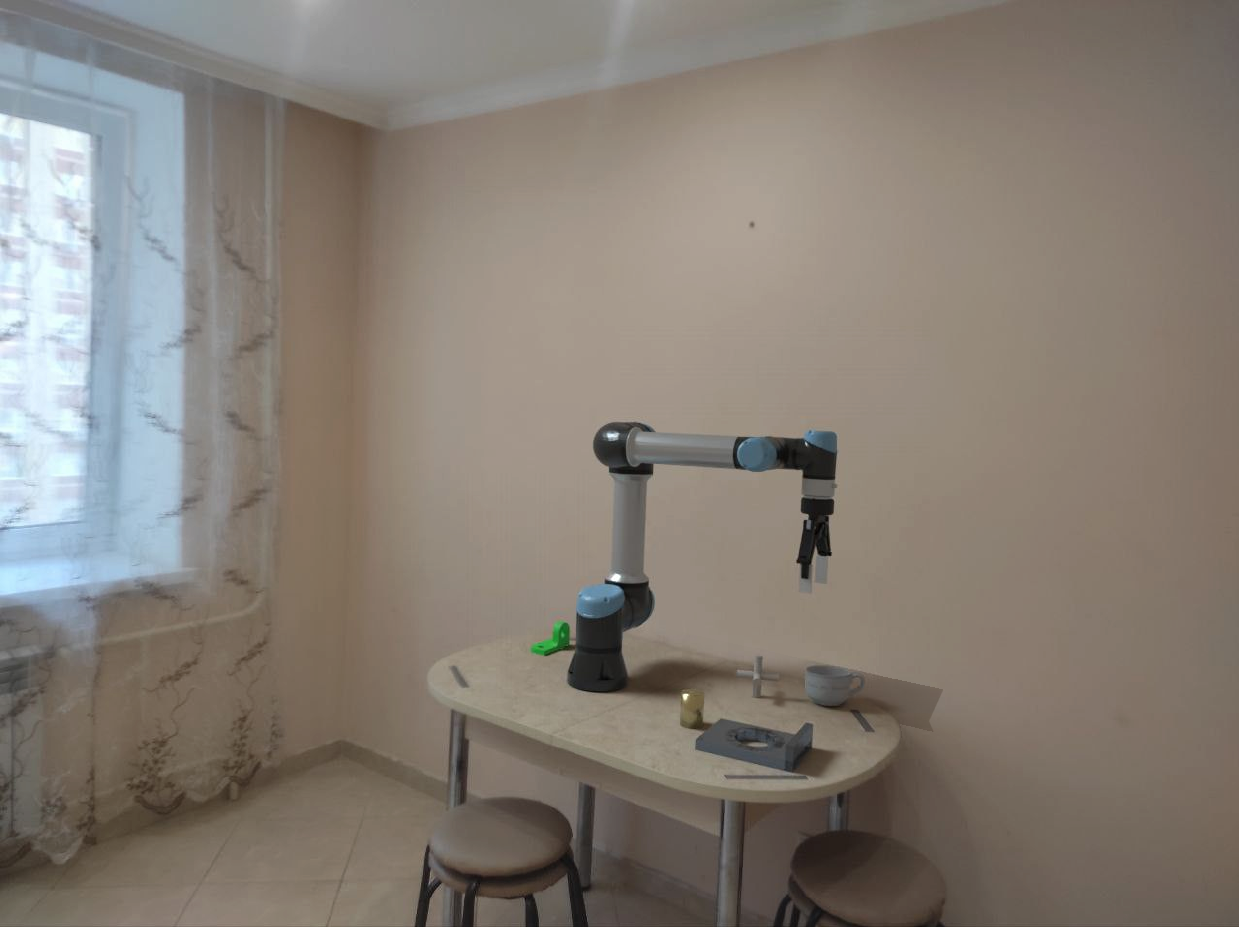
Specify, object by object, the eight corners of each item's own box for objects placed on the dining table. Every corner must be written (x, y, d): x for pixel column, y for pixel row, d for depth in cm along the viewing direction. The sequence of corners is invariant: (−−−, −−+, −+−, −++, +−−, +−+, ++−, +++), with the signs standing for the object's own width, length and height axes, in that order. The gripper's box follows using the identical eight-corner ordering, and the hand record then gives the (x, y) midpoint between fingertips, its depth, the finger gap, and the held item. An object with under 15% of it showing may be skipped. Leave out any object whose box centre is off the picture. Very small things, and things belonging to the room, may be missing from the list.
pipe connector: (777, 705, 195) (779, 663, 194) (734, 700, 197) (736, 659, 196) (778, 691, 205) (780, 651, 204) (737, 687, 207) (739, 648, 206)
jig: (695, 748, 167) (696, 724, 167) (720, 727, 180) (721, 704, 179) (792, 772, 158) (793, 746, 158) (812, 747, 170) (813, 723, 170)
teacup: (800, 705, 195) (802, 672, 195) (806, 692, 205) (808, 660, 205) (861, 715, 190) (863, 680, 190) (865, 700, 201) (866, 668, 200)
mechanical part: (552, 644, 239) (553, 617, 239) (569, 648, 236) (570, 620, 236) (526, 654, 229) (527, 625, 229) (543, 658, 226) (544, 629, 226)
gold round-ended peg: (676, 725, 180) (677, 693, 179) (685, 718, 184) (686, 687, 184) (697, 730, 177) (698, 698, 177) (706, 723, 182) (707, 691, 181)
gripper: (819, 502, 180) (814, 599, 181) (846, 494, 202) (841, 581, 203) (786, 499, 183) (781, 594, 184) (815, 492, 205) (811, 577, 206)
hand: (813, 587), depth 194 cm, fingers open, 13 cm apart
